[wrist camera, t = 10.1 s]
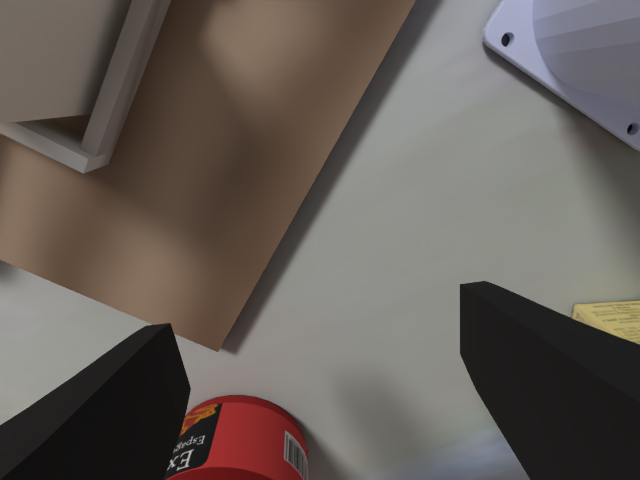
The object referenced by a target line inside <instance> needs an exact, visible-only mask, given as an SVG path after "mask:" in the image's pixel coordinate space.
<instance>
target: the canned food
mask: <svg viewBox="0 0 640 480" xmlns="http://www.w3.org/2000/svg"><path fill="white" fill-rule="evenodd" d="M163 480H308V450H307V447H306V444H305V440H304V438H303V435H302V432H301V430H300V428H299V426H298V425H297V423H296V421H295V420H294V419H293V418H292V417H291V416H290V415H289V414H288V413H287V412H285V411H284V410H283V409H281V408H280V407H279V406H277V405H275V404H273V403H271V402H269V401H266V400H263V399H260V398H256V397H251V396H244V395H228V396H222V397H216V398H213V399H210V400H207V401H205V402H203V403H201V404H200V405H198V406H196V407H195V408H193V409H192V410H191V411H190V412H189V413H188V414H187V415H186V416H185V418H184V422H183V426H182V430H181V433H180V435H179V438H178V441H177V444H176V447H175V449H174V452H173V455H172V458H171V461H170V463H169V466H168V469H167V471H166V474H165V477H164V479H163Z"/></svg>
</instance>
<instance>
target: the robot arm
mask: <svg viewBox="0 0 640 480" xmlns="http://www.w3.org/2000/svg"><path fill="white" fill-rule="evenodd" d="M504 34H507V35H508V36H509V39H510V41H509V44H508V45H507V46H506V47H505V46H503V45H502V43H501V39H502V36H503V35H504ZM482 40H483V43H484V44H485V45H486V46H487V47H489V48H490V49H492V50H493V51H495V52H496V53H497V54H499V55H500V56H502V57H503V58H505V59H506V60H507V61H509V62H510V63H512V64H513V65H515V66H516V67H517V68H519V69H520V70H522V71H523V72H525V73H526V74H527V75H529V76H530V77H532V78H533V79H535V80H536V81H537V82H539V83H540V84H542V85H543V86H545V87H546V88H548V89H549V90H550V91H552V92H553V93H555V94H556V95H558V96H559V97H560V98H562V99H563V100H565V101H566V102H568V103H569V104H570V105H572V106H573V107H575V108H576V109H578V110H579V111H580V112H582V113H583V114H585V115H586V116H588V117H589V118H590V119H592V120H593V121H595V122H596V123H598V124H599V125H600V126H602V127H603V128H605V129H606V130H608V131H609V132H610V133H612V134H613V135H615V136H616V137H618V138H619V139H620V140H622V141H623V142H625V143H626V144H628V145H629V146H630V147H632V148H633V149H635V150H637V151H640V0H501V1H500V3H499V4H498V6H497V7H496V9H495V11H494V12H493V14H492V15H491V17H490V19H489V20H488V22H487V23H486V25H485V27H484V29H483V31H482ZM630 124H632V129H631V131H630V132H629V133H627V128H628V126H629V125H630ZM460 354H461V357H462V359H463V361H464V364H465V366H466V368H467V371H468V373H469V375H470V377H471V380H472V382H473V384H474V386H475V388H476V390H477V392H478V394H479V395H480V397H481V399H482V401H483V402H484V404H485V406H486V407H487V409H488V411H489V412H490V414H491V416H492V417H493V419H494V421H495V422H496V424H497V425H498V427H499V429H500V430H501V432H502V434H503V435H504V437H505V439H506V440H507V442H508V443H509V445H510V447H511V448H512V450H513V452H514V453H515V455H516V457H517V458H518V460H519V462H520V463H521V465H522V466H523V468H524V470H525V471H526V473H527V475H528V476H529V478H530V480H640V344H637V343H635V342H632V341H629V340H626V339H623V338H621V337H618V336H615V335H613V334H610V333H607V332H605V331H602V330H600V329H597V328H595V327H592V326H589V325H587V324H584V323H582V322H579V321H577V320H575V319H572V318H570V317H567V316H565V315H563V314H560V313H558V312H556V311H554V310H551V309H549V308H547V307H544V306H542V305H540V304H538V303H536V302H533V301H531V300H529V299H527V298H524V297H522V296H520V295H518V294H516V293H513V292H511V291H509V290H507V289H504V288H502V287H500V286H497V285H495V284H492V283H489V282H486V281H482V282H474V283H466V284H460ZM190 390H191V388H190V384H189V381H188V378H187V375H186V371H185V368H184V365H183V362H182V358H181V355H180V352H179V349H178V345H177V342H176V339H175V335H174V332H173V329H172V326H171V323H164V324H157V325H149V326H145V327H144V328H142V329H140V330H138V331H137V332H135V333H134V334H132V335H131V336H129V337H128V338H126V339H125V340H123V341H122V342H121V343H119V344H118V345H116V346H115V347H114V348H112V349H111V350H109V351H108V352H107V353H105V354H104V355H103V356H101V357H100V358H98V359H97V360H96V361H94V362H93V363H91V364H90V365H89V366H87V367H86V368H85V369H83V370H82V371H80V372H79V373H78V374H76V375H75V376H74V377H72V378H71V379H69V380H68V381H66V382H65V383H63V384H62V385H60V386H59V387H58V388H56V389H55V390H53V391H52V392H50V393H49V394H47V395H46V396H44V397H43V398H41V399H40V400H38V401H37V402H35V403H34V404H33V405H31V406H30V407H28V408H27V409H25V410H24V411H22V412H21V413H19V414H17V415H16V416H14V417H13V418H11V419H10V420H8V421H6V422H5V423H3V424H2V425H0V480H163V479H164V477H165V474H166V471H167V469H168V466H169V463H170V461H171V458H172V455H173V452H174V449H175V447H176V444H177V441H178V438H179V435H180V433H181V430H182V426H183V422H184V418H185V414H186V410H187V405H188V400H189V395H190Z"/></svg>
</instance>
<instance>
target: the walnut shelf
mask: <svg viewBox="0 0 640 480" xmlns="http://www.w3.org/2000/svg"><path fill="white" fill-rule="evenodd" d="M415 1H416V0H131V3H130V6H129V9H128V12H127V15H126V19H125V22H124V25H123V28H122V30H121V33H120V36H119V39H118V42H117V45H116V47H115V50H114V53H113V56H112V59H111V61H110V64H109V67H108V70H107V73H106V76H105V78H104V81H103V84H102V87H101V90H100V92H99V95H98V98H97V101H96V104H95V107H94V109H93V112H92V114H86V115H77V116H67V117H58V118H49V119H40V120H30V121H21V122H12V123H2V124H0V260H2V261H4V262H7V263H9V264H11V265H14V266H16V267H18V268H21V269H23V270H25V271H28V272H30V273H33V274H35V275H37V276H40V277H42V278H44V279H47V280H49V281H51V282H54V283H56V284H58V285H61V286H63V287H66V288H68V289H70V290H73V291H75V292H77V293H80V294H82V295H84V296H87V297H89V298H92V299H94V300H96V301H99V302H101V303H103V304H106V305H108V306H110V307H113V308H115V309H118V310H120V311H122V312H125V313H127V314H129V315H132V316H134V317H136V318H139V319H141V320H144V321H146V322H148V323H151V324H153V325H157V324H164V323H171V326H172V329H173V332H174V334H177V335H179V336H181V337H184V338H186V339H188V340H191V341H193V342H196V343H198V344H200V345H203V346H205V347H207V348H210V349H212V350H214V351H217V352H218V351H219V349H220V348H221V346H222V344H223V342H224V340H225V339H226V337H227V335H228V333H229V332H230V330H231V328H232V326H233V324H234V323H235V321H236V319H237V317H238V316H239V314H240V312H241V310H242V308H243V307H244V305H245V303H246V301H247V300H248V298H249V296H250V294H251V292H252V291H253V289H254V287H255V285H256V284H257V282H258V280H259V278H260V277H261V275H262V273H263V271H264V269H265V268H266V266H267V264H268V262H269V261H270V259H271V257H272V255H273V253H274V252H275V250H276V248H277V246H278V245H279V243H280V241H281V239H282V237H283V236H284V234H285V232H286V230H287V229H288V227H289V225H290V223H291V221H292V220H293V218H294V216H295V214H296V213H297V211H298V209H299V207H300V205H301V204H302V202H303V200H304V198H305V197H306V195H307V193H308V191H309V189H310V188H311V186H312V184H313V182H314V181H315V179H316V177H317V175H318V174H319V172H320V170H321V168H322V166H323V165H324V163H325V161H326V159H327V158H328V156H329V154H330V152H331V150H332V149H333V147H334V145H335V143H336V142H337V140H338V138H339V136H340V134H341V133H342V131H343V129H344V127H345V126H346V124H347V122H348V120H349V118H350V117H351V115H352V113H353V111H354V110H355V108H356V106H357V104H358V102H359V101H360V99H361V97H362V95H363V94H364V92H365V90H366V88H367V86H368V85H369V83H370V81H371V79H372V78H373V76H374V74H375V72H376V70H377V69H378V67H379V65H380V63H381V62H382V60H383V58H384V56H385V55H386V53H387V51H388V49H389V47H390V46H391V44H392V42H393V40H394V39H395V37H396V35H397V33H398V31H399V30H400V28H401V26H402V24H403V23H404V21H405V19H406V17H407V15H408V14H409V12H410V10H411V8H412V7H413V5H414V3H415Z"/></svg>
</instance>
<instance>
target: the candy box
mask: <svg viewBox="0 0 640 480" xmlns="http://www.w3.org/2000/svg"><path fill="white" fill-rule="evenodd" d="M572 319H575V320H577V321H579V322H582V323H584V324H587V325H589V326H592V327H595V328H597V329H600V330H602V331H605V332H607V333H610V334H613V335H615V336H618V337H621V338H623V339H626V340H629V341H632V342H635V343H637V344H640V300H633V301H623V302H606V303H590V304H576V305H574V307H573V314H572Z"/></svg>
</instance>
